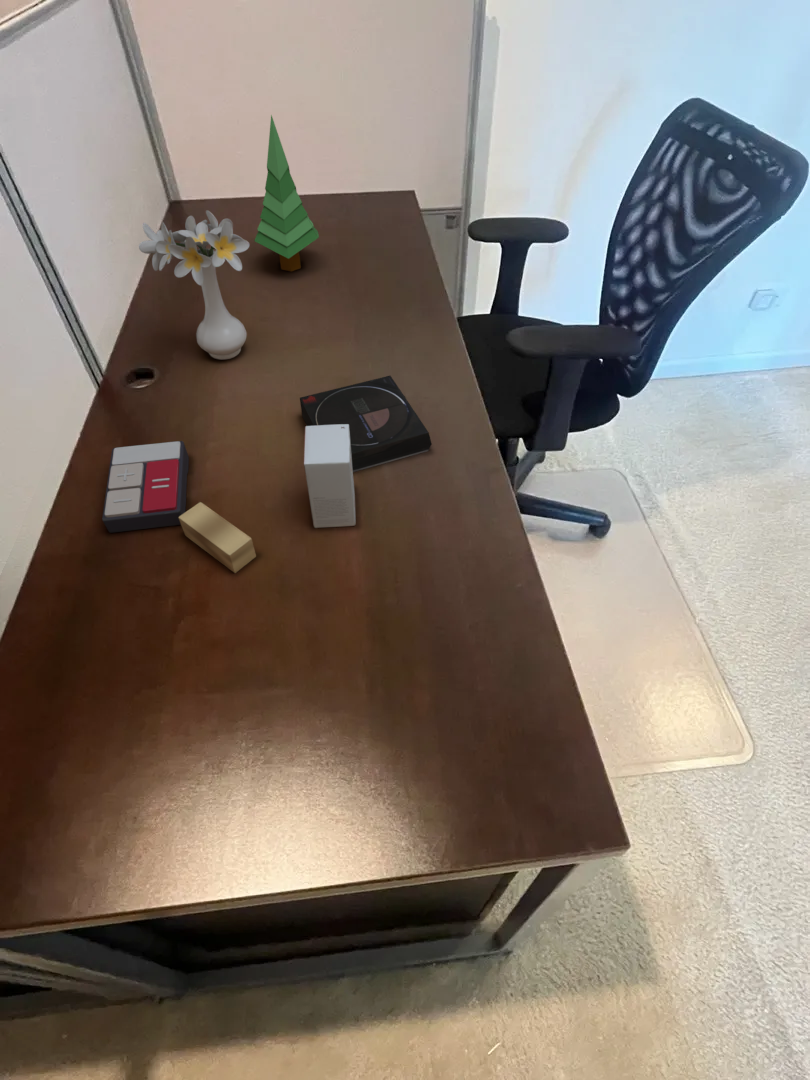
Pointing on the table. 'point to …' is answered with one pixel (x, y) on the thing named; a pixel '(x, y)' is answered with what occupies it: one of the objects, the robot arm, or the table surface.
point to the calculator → (146, 486)
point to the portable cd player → (370, 421)
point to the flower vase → (204, 275)
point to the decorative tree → (283, 210)
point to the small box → (329, 475)
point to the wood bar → (217, 537)
